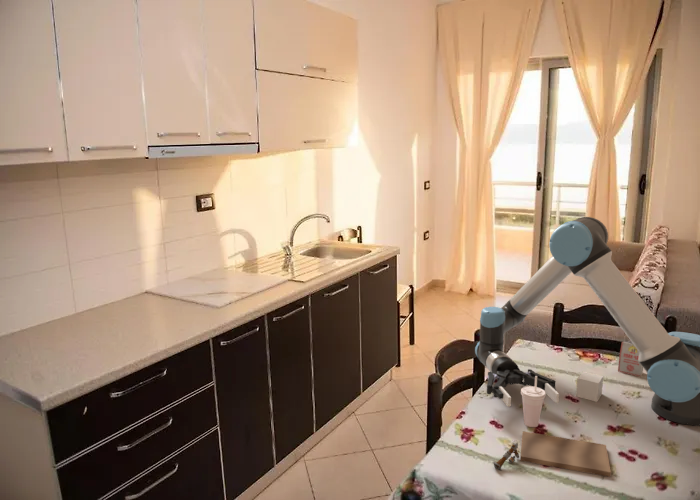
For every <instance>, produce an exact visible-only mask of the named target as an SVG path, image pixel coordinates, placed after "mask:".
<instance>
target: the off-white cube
mask: <svg viewBox="0 0 700 500" xmlns="http://www.w3.org/2000/svg"><path fill="white" fill-rule="evenodd" d="M603 384H604V375H600V374H596V373H591V372H586V371H582V372H581V373H580V374H579V375H578V377H577V380H576V388H575V389H576V390H575V391H576V392H575V397H578V398H579V399H580V398H581V399H585V400H589V401H593V402H595V403H597V402H598V401H599V400H600V398H601V396H602V395H603Z"/></svg>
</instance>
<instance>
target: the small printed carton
mask: <svg viewBox="0 0 700 500" xmlns="http://www.w3.org/2000/svg"><path fill="white" fill-rule="evenodd" d="M619 350H620V351H619V357H618V367H617V372H619V373H624V374H629V375H631V374H632V375H631V376H635V375H636V376H635V377H641V376H642V375H643V371H644V368H643V366H642V365H641V364H640V362H639V361H638V357H639V351H638V350H637V348H636V347H635V346H634V344H633V343H632V342H631V343H630V342H627V341H621V345H620V349H619Z"/></svg>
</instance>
